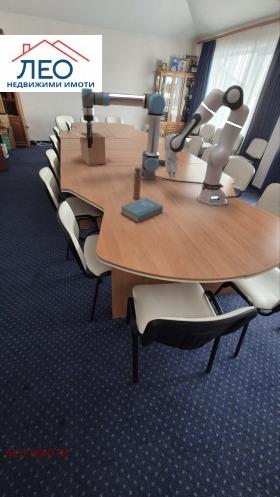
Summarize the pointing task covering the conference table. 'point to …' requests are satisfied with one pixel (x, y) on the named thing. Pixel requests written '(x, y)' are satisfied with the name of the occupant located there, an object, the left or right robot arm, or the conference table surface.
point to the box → (93, 147)
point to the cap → (138, 169)
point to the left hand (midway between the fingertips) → (90, 146)
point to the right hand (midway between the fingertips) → (172, 178)
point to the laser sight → (162, 162)
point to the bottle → (137, 185)
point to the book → (141, 209)
